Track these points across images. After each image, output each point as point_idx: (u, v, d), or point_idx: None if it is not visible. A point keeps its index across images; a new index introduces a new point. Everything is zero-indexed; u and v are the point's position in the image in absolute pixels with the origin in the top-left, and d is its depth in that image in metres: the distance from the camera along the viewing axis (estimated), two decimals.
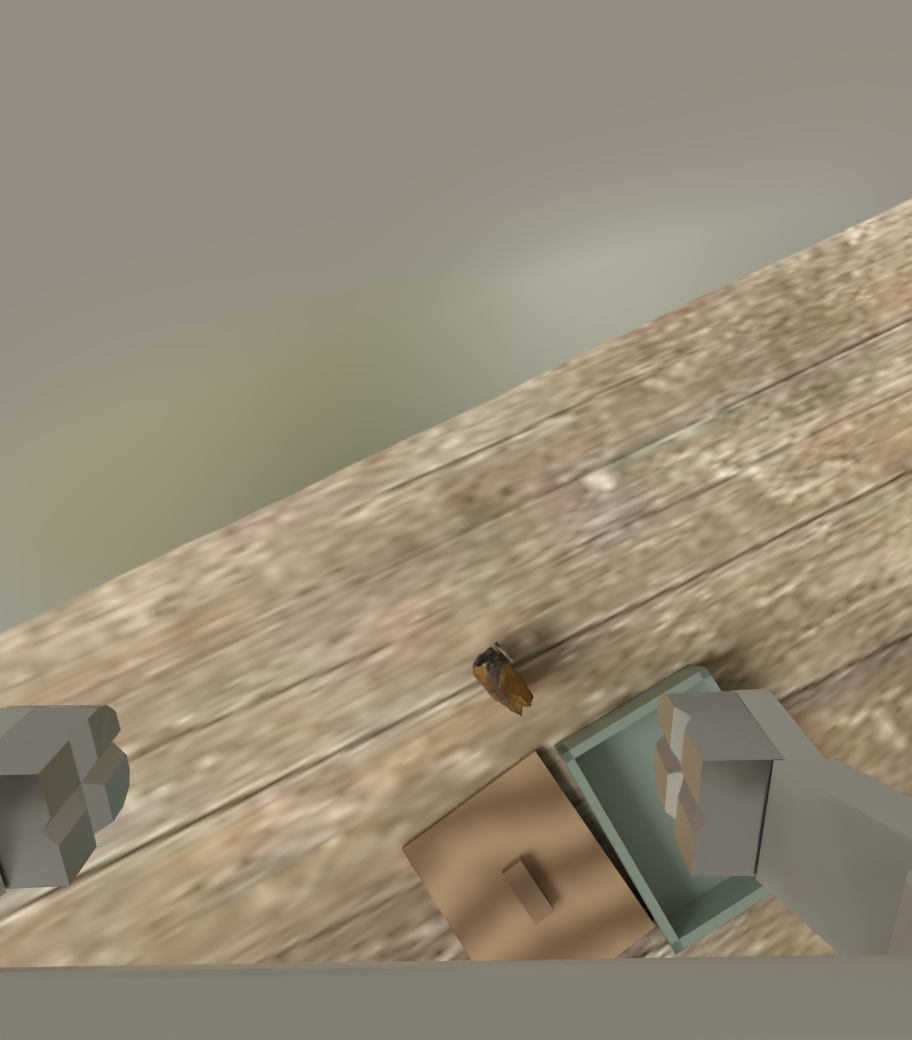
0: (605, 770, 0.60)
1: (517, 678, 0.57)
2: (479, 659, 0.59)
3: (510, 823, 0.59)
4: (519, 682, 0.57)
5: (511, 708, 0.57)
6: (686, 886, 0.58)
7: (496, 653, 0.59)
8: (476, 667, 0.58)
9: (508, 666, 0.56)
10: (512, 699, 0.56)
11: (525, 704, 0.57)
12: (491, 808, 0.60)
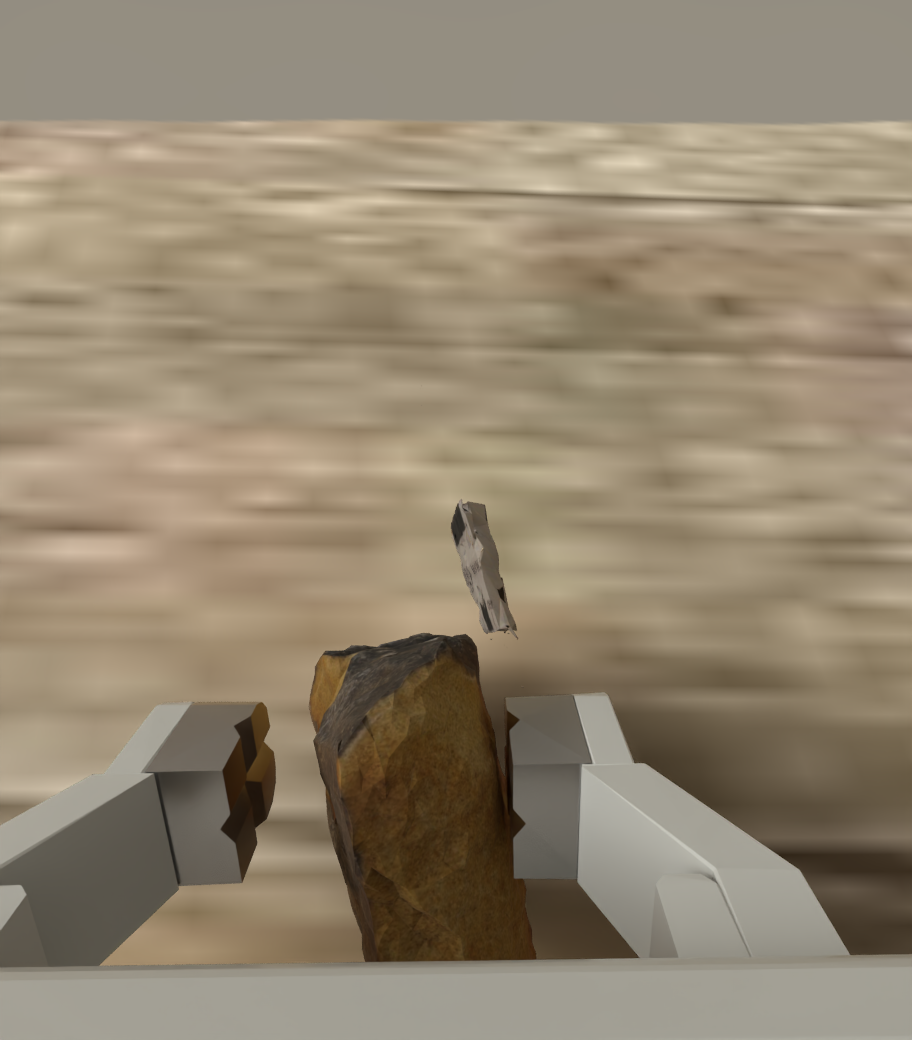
0: None
1: (491, 803, 0.09)
2: None
3: None
4: (492, 835, 0.09)
5: None
6: None
7: None
8: (324, 662, 0.11)
9: (470, 697, 0.09)
10: (393, 925, 0.08)
11: None
12: None
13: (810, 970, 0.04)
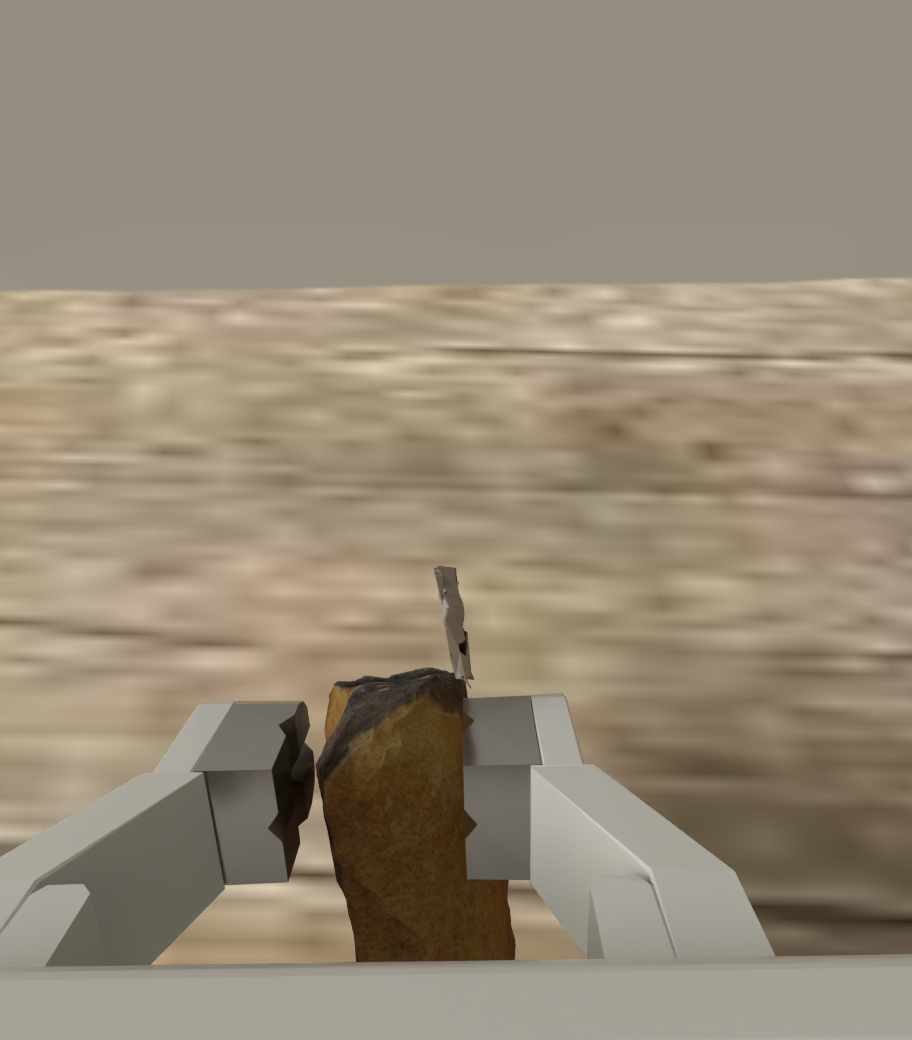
0: None
1: (464, 826, 0.10)
2: None
3: None
4: (464, 855, 0.10)
5: None
6: None
7: None
8: (335, 691, 0.13)
9: (447, 732, 0.10)
10: (370, 926, 0.09)
11: None
12: None
13: (810, 970, 0.04)
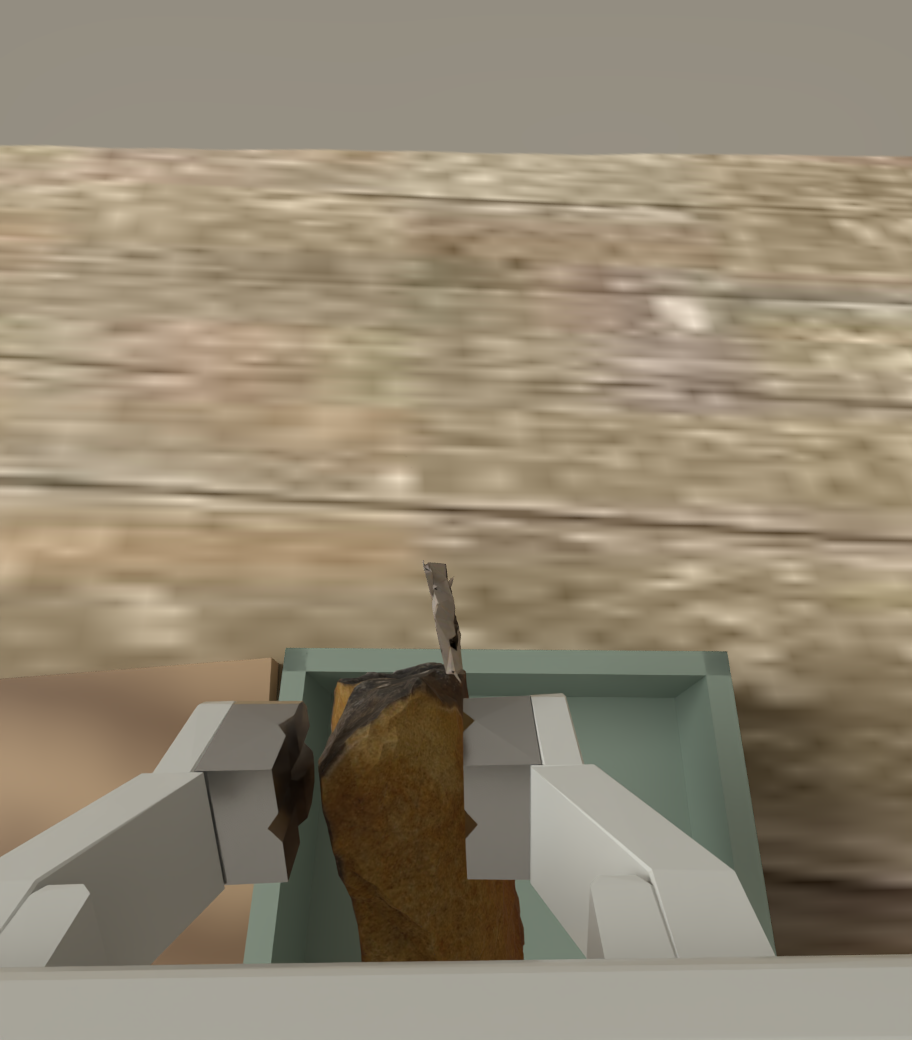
0: None
1: (464, 819, 0.10)
2: None
3: (121, 766, 0.25)
4: (465, 847, 0.10)
5: None
6: None
7: None
8: (338, 688, 0.13)
9: (445, 725, 0.10)
10: (374, 919, 0.09)
11: None
12: (112, 714, 0.26)
13: (810, 970, 0.04)
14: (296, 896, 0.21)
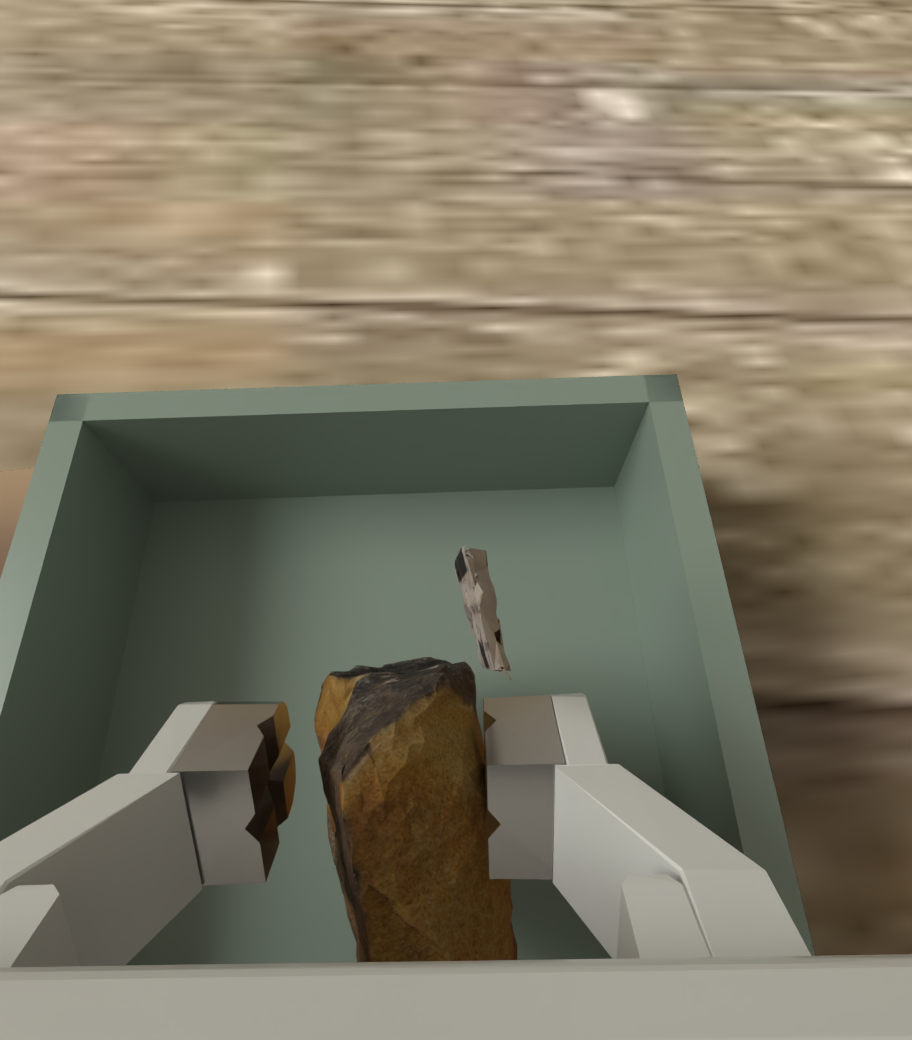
0: (212, 603, 0.17)
1: (482, 826, 0.09)
2: None
3: None
4: (482, 857, 0.09)
5: None
6: None
7: None
8: (330, 682, 0.12)
9: (466, 726, 0.09)
10: (387, 937, 0.08)
11: None
12: None
13: (810, 970, 0.04)
14: (60, 734, 0.14)
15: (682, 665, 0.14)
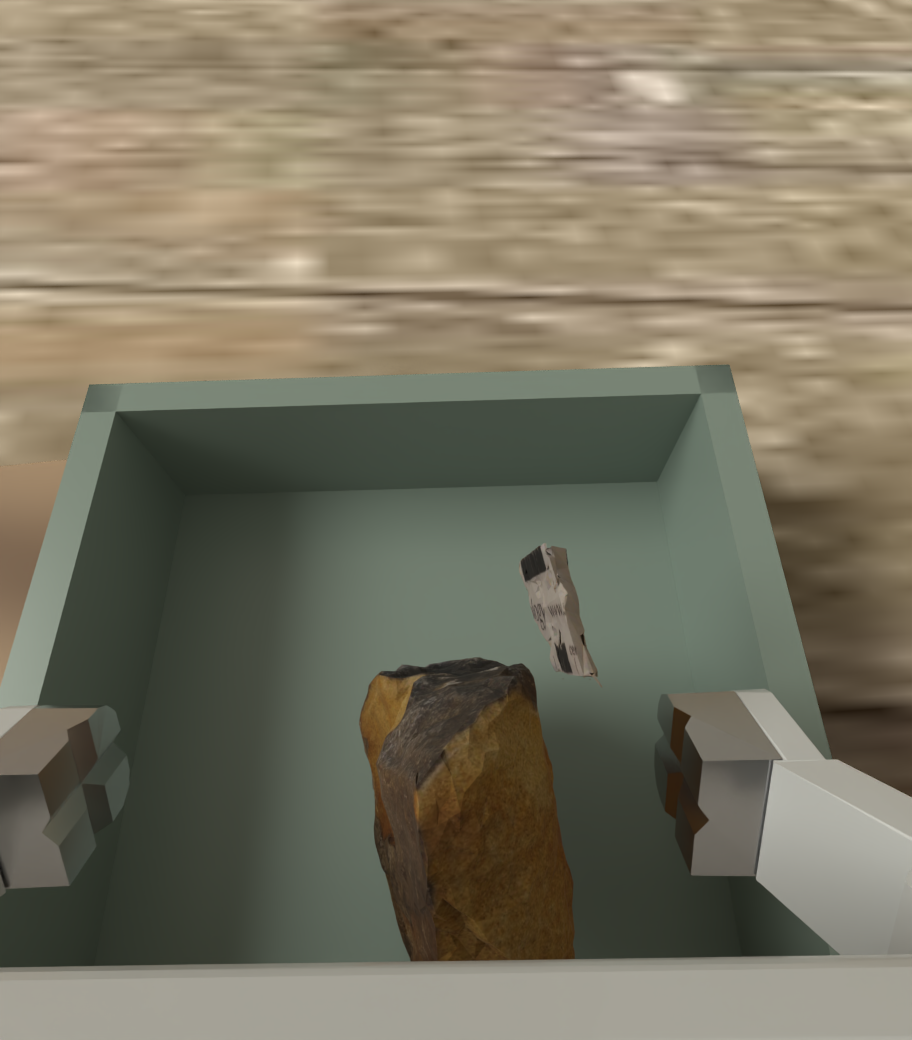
0: (244, 599, 0.17)
1: (551, 837, 0.09)
2: None
3: None
4: (551, 869, 0.09)
5: None
6: None
7: None
8: (379, 682, 0.11)
9: (535, 731, 0.09)
10: (457, 953, 0.08)
11: None
12: None
13: (810, 970, 0.04)
14: None
15: (737, 670, 0.13)
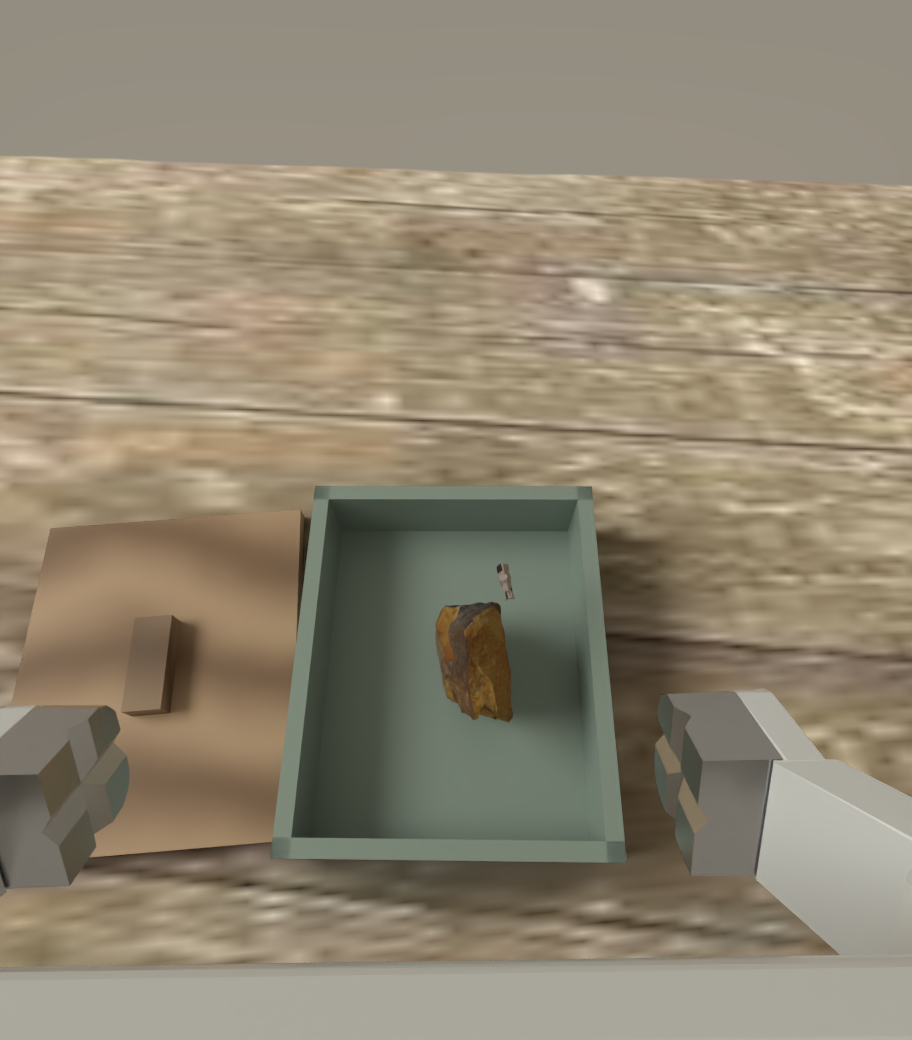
0: (373, 581, 0.37)
1: (503, 651, 0.29)
2: (457, 605, 0.33)
3: (202, 574, 0.38)
4: (502, 660, 0.29)
5: (464, 703, 0.29)
6: (377, 809, 0.32)
7: None
8: (445, 609, 0.32)
9: (499, 619, 0.29)
10: (474, 678, 0.28)
11: (492, 704, 0.28)
12: (194, 544, 0.38)
13: (810, 970, 0.04)
14: (323, 633, 0.34)
15: (582, 614, 0.33)
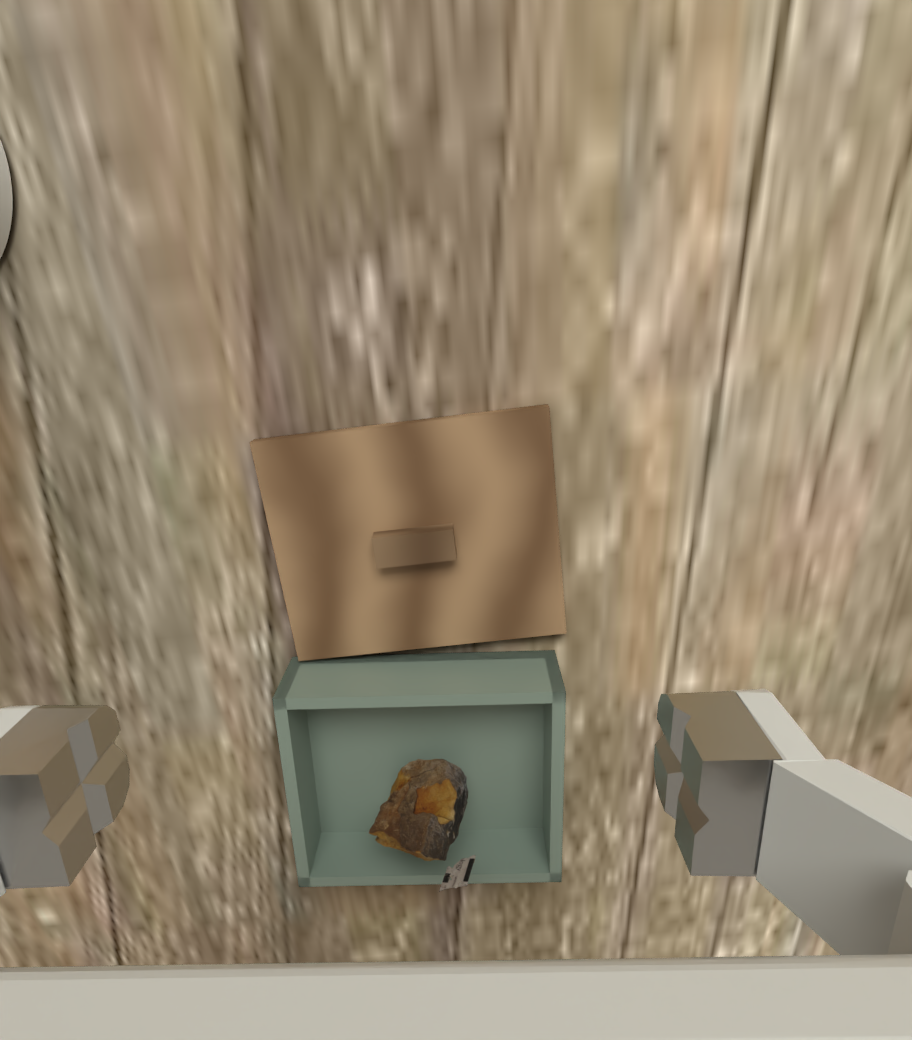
0: None
1: None
2: (461, 795, 0.42)
3: (500, 561, 0.41)
4: None
5: (383, 816, 0.41)
6: (325, 713, 0.45)
7: (458, 825, 0.42)
8: (454, 797, 0.42)
9: None
10: (394, 840, 0.40)
11: (380, 841, 0.41)
12: (531, 548, 0.41)
13: (810, 970, 0.04)
14: None
15: None
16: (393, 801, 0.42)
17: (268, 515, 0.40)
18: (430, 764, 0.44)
